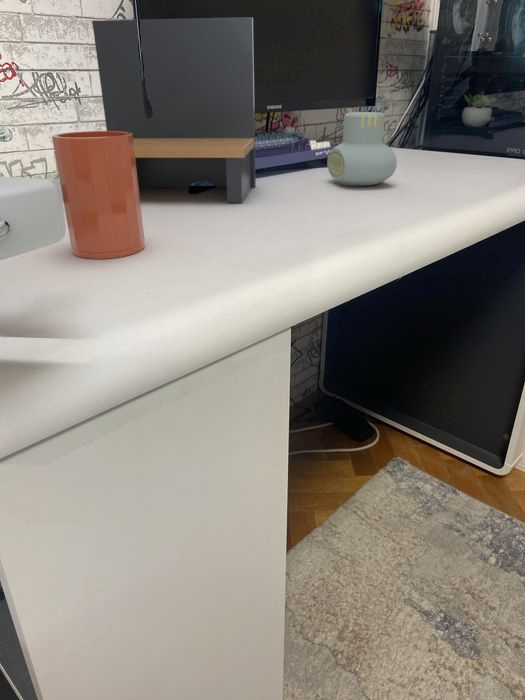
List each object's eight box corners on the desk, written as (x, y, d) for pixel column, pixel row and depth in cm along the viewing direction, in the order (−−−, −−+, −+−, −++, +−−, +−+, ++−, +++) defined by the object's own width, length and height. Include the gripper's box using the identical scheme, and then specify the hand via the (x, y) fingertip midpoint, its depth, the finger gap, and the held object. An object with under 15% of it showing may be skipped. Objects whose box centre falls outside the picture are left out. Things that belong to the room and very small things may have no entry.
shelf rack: (84, 202, 72) (53, 11, 62) (116, 185, 84) (95, 21, 74) (245, 204, 70) (240, 6, 60) (255, 185, 82) (253, 18, 72)
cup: (60, 258, 50) (37, 138, 45) (88, 238, 56) (71, 130, 51) (132, 259, 49) (117, 138, 44) (152, 239, 55) (141, 130, 51)
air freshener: (322, 178, 87) (325, 111, 82) (369, 176, 89) (374, 110, 84) (348, 191, 77) (353, 116, 73) (400, 188, 79) (408, 114, 75)
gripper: (-74, 179, 23) (114, 145, 35) (-336, 161, 30) (-106, 137, 42) (-35, 312, 26) (126, 240, 38) (-283, 268, 33) (-82, 219, 44)
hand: (3, 186), depth 40 cm, fingers open, 8 cm apart
